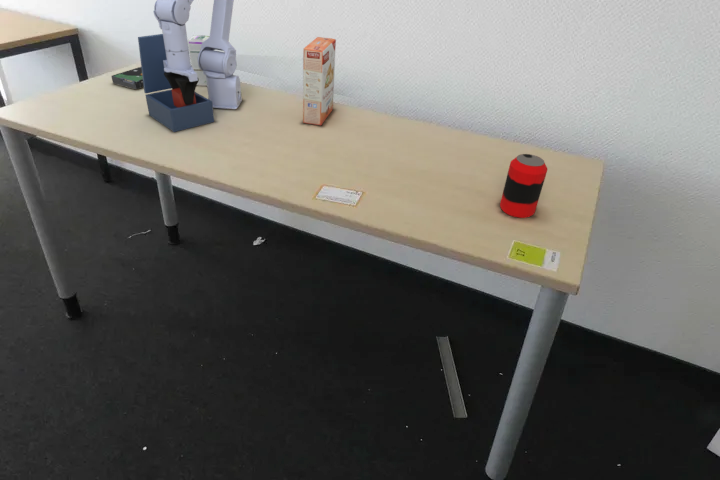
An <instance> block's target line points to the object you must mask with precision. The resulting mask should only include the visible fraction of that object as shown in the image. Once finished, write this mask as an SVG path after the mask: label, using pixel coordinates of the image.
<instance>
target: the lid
mask: <svg viewBox="0 0 720 480" xmlns="http://www.w3.org/2000/svg"><path fill="white" fill-rule="evenodd" d="M137 42H138V50H139V59H140V60H139V61H140V67H141V68H142V77H143V85H144V87H143V92H144V94H151V93H156V92H161V91H166V90H171V89H172V87H171V85H170V83H169V81H168V80H167V78H166V77H165V76H164V72H165V71H164V63H163V60H167V58H166V51H165V45H164V39H163V33H158V34H151V35H143V36H138V37H137Z"/></svg>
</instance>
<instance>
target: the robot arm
mask: <svg viewBox="0 0 720 480" xmlns="http://www.w3.org/2000/svg"><path fill="white" fill-rule="evenodd" d="M193 2H194V0H156V1H155V3H154V5H153V6H154V8H153V15H154V17H155V19H156V20H157V23H158V27H159V28H160V30H161V32H162V33H161V34H163V39H164V45H165V51H166V58H167V60H163V63H164V71H165V72H164V76H165V77H166V78H167V80H168V81H169V83H170V85H171V87H172V88H171V89H176V88H180V90H181V93H182V96H183V100H184V103H185V104H186V105H188V104H193V101H194V93H195V92H196V89H197V86H198V85H197V83H198V81H199V79H198V77H197V73H196V72H195V71H194V69H193V68H192V66H191V60H190V53H189V46H188V40H189V39H188V33H187V26H186V23H187V22H188V21H189V18H190V11H191V7H192V6H191V5H192V4H193ZM233 9H234V0H213V4H212V11H211V12H212V13H211V21H210V23H211V24H210V30H209V36H210V37H209V38H208V39H207V40H205V41H204V42H203V43H202V44H201V50H200V52H199V54H198V59H197V61H198V65H199V68H200V69H201V70H202V71H203V74H204V75H206V81H207V86H206V88H207V95H208V98H207V99H209V100H211V101H212V106H213V109H224V110H237V109H238V108H239V107H240V105H241V103H242V101H243V98H242V89H241V88H242V87H241V79H240V76H239V75H235V72H236V70H237V66H238V65H237V49H236V48H235V47H234V46H233V45H232V43H231V42H230V33H231V25H232V17H233Z"/></svg>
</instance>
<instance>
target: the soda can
mask: <svg viewBox="0 0 720 480" xmlns="http://www.w3.org/2000/svg"><path fill="white" fill-rule="evenodd" d="M547 173H548V167H547V165H546V162H545V160H544V159H543V158H542V157H540V156H538V155H534V154H530V153H521V154H518V155H517V156H516V157H514V158H513V159H512V160H511V161H510V162H509V166H508V171H507V175H506V179H505V183H504V187H503V190H502V195H501V199H500V203H499V207H500V209H501V210H502V211H503V212H504V213H505V214H506V215H508V216H511V217H514V218H519V219H527V218H530V217H532V216H533V215H535V213H536V210H537V206H538V204H539V200H540V196H541V193H542V190H543V187H544V184H545V183H544V182H545V180H546V176H547Z"/></svg>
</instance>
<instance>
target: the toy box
mask: <svg viewBox="0 0 720 480" xmlns="http://www.w3.org/2000/svg"><path fill="white" fill-rule="evenodd" d="M195 98H196V104H192V105H188V106H183V107H179V108H178V107H176V106H174V103H173V96H172V90H171V89H166V90H161V91H156V92H151V93H145V101H146V106H147V111H148V116H149V117H151V118H153V119H154V120H155V121H157V122H158V123H159V124H161V125H163V126H164V127H166V128H167V129H169V130H170V131H171V132H173V133H177V132H180V131H184V130H189V129H192V128H195V127H199V126H204V125H208V124H211V123H214V122H215V117H214V108H213V106H212V101H211V100H209V98H207V97H206V96H203V95H201V94H200V93H198V92H196V91H195Z"/></svg>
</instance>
